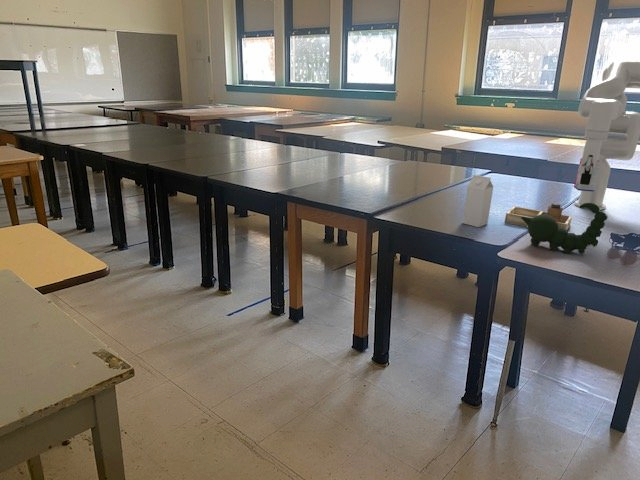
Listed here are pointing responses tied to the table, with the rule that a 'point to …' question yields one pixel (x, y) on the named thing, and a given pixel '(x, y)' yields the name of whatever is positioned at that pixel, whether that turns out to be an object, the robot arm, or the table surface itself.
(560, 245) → the toy figurine
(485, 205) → the milk carton
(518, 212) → the box
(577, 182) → the supplement box
